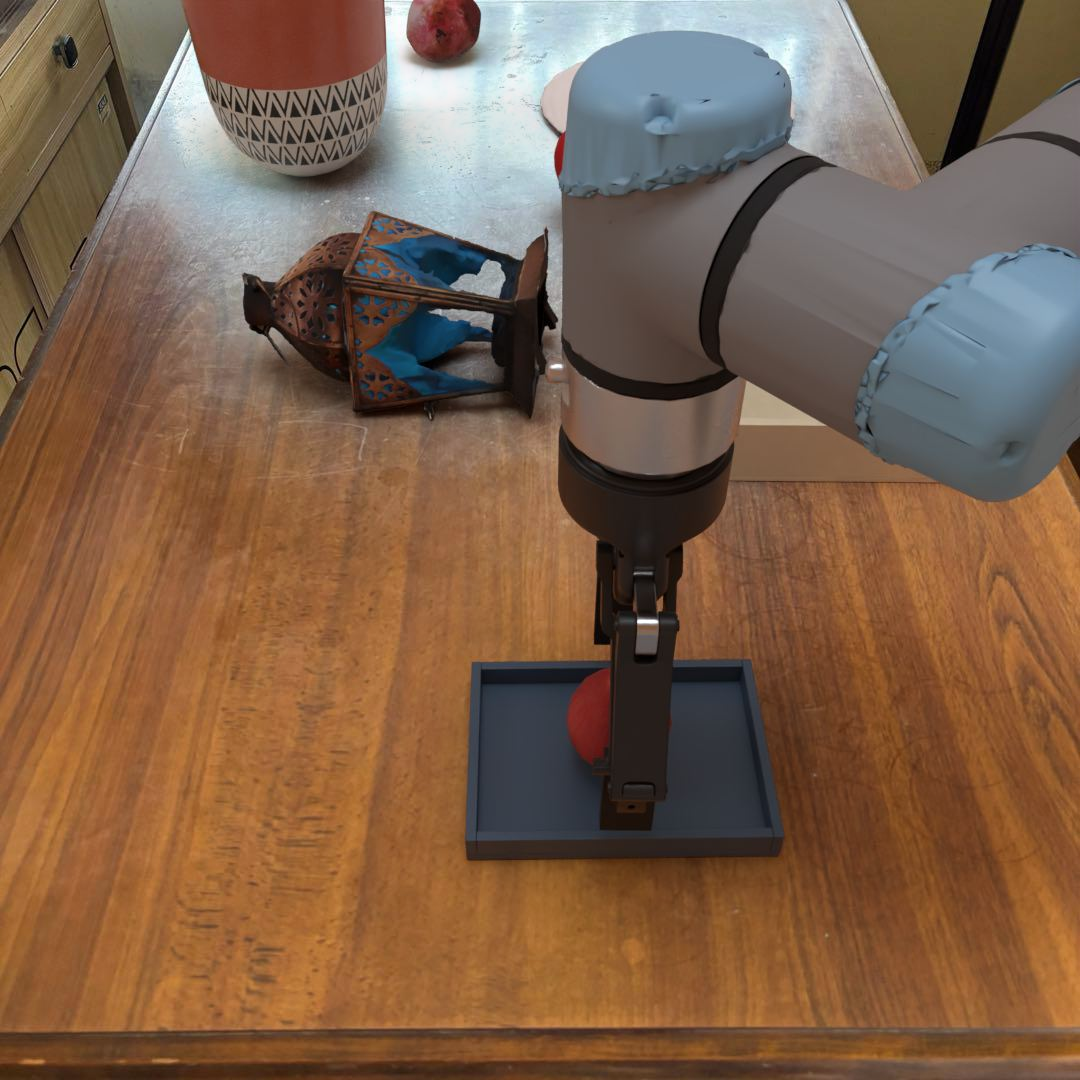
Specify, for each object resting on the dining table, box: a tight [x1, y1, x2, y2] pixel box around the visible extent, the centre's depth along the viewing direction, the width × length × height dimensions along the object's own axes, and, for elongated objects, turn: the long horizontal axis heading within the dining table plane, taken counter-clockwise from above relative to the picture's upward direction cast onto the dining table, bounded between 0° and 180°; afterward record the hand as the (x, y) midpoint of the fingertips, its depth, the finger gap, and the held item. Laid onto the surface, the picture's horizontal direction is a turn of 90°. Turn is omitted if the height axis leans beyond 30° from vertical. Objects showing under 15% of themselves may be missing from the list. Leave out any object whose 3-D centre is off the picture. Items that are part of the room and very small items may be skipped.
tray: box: [464, 658, 786, 861], centre depth 64 cm, size 17×12×2 cm
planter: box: [180, 0, 388, 177], centre depth 110 cm, size 20×20×21 cm
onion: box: [566, 668, 672, 765], centre depth 62 cm, size 6×6×8 cm
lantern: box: [241, 210, 559, 421], centre depth 87 cm, size 16×16×25 cm
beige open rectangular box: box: [729, 381, 941, 484], centre depth 87 cm, size 20×18×5 cm
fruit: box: [405, 0, 482, 63], centre depth 134 cm, size 9×10×10 cm
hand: (620, 726), depth 62 cm, fingers open, 12 cm apart
